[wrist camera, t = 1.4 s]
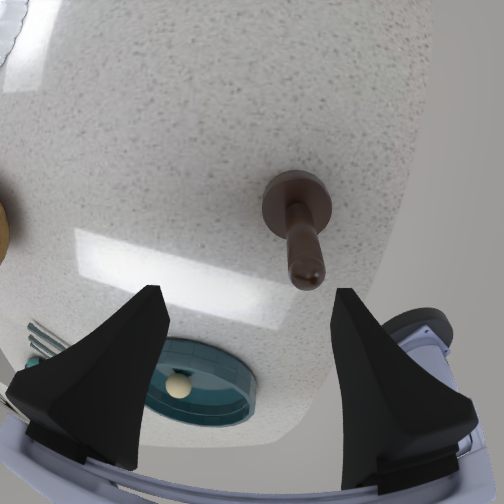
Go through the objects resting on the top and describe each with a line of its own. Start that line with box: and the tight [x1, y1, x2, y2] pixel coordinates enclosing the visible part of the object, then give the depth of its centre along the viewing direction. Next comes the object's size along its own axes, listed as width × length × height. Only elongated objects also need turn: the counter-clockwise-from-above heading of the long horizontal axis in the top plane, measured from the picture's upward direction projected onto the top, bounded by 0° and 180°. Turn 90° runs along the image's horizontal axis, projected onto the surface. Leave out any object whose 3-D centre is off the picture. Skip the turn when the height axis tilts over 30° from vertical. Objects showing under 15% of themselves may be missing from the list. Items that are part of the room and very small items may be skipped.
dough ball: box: [166, 373, 192, 398], centre depth 29 cm, size 3×3×3 cm
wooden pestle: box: [262, 171, 332, 291], centre depth 15 cm, size 4×4×9 cm
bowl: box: [144, 339, 257, 427], centre depth 30 cm, size 15×15×4 cm
